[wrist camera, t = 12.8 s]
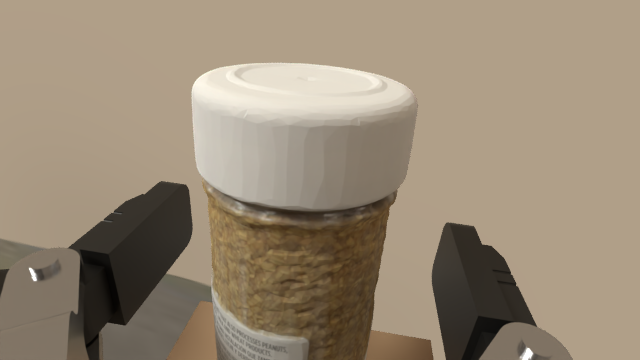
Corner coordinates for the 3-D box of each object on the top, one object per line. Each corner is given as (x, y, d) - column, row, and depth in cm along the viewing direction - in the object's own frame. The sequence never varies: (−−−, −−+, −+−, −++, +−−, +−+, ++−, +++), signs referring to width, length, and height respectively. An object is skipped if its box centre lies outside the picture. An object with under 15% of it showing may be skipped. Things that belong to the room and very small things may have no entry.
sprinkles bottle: (374, 481, 13) (475, 95, 7) (248, 569, 11) (234, 116, 5) (310, 373, 16) (340, 56, 10) (206, 422, 14) (167, 57, 8)
